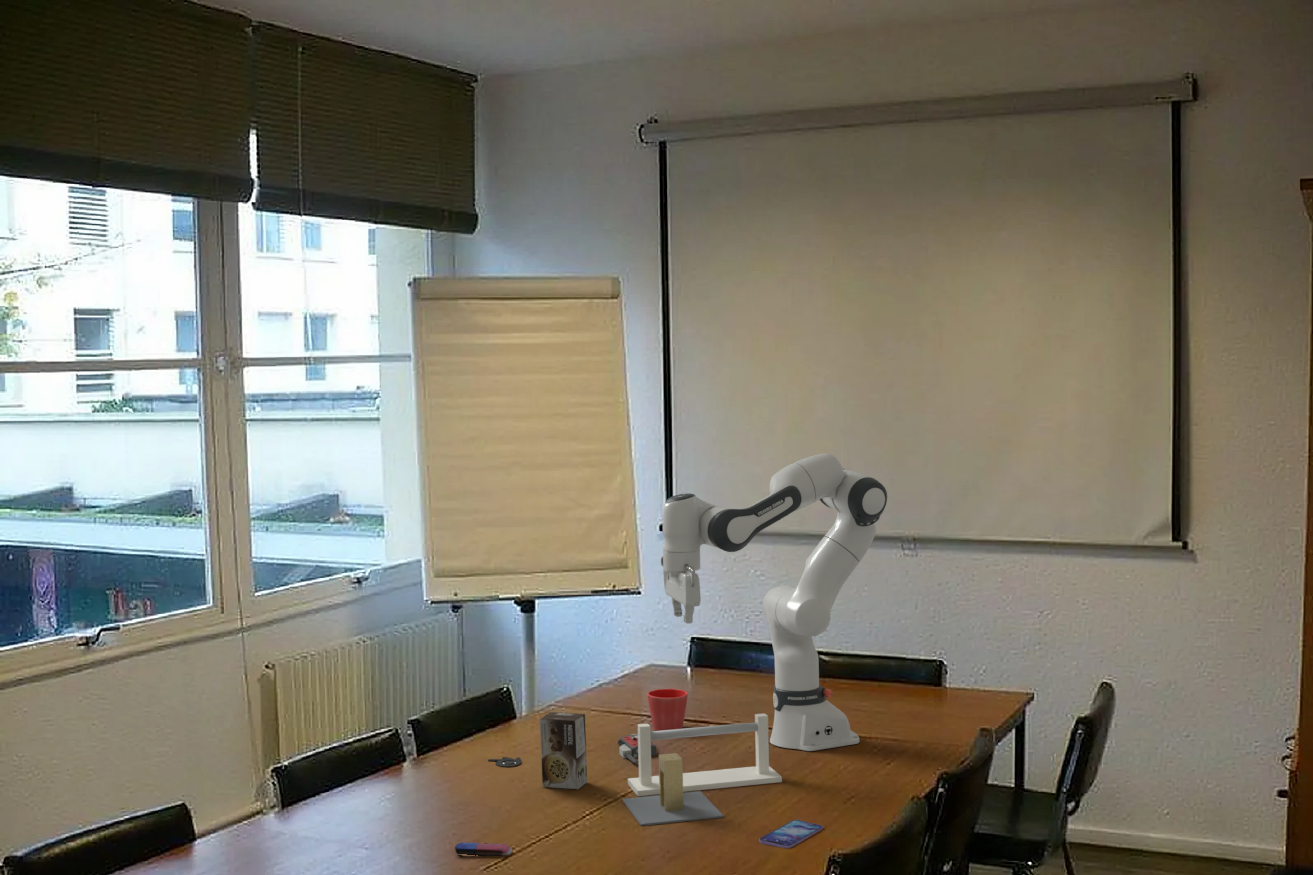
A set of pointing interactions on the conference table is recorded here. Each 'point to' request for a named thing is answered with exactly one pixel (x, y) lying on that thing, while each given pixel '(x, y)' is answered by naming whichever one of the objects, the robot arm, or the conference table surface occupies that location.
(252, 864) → the conference table surface
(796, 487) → the robot arm
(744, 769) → the rod stand
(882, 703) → the conference table surface
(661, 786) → the c-link
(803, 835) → the smartphone
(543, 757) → the coffee box
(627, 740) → the walkie-talkie
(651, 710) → the flower pot
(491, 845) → the eraser
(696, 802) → the rubber mat
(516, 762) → the dark grey flat piece
